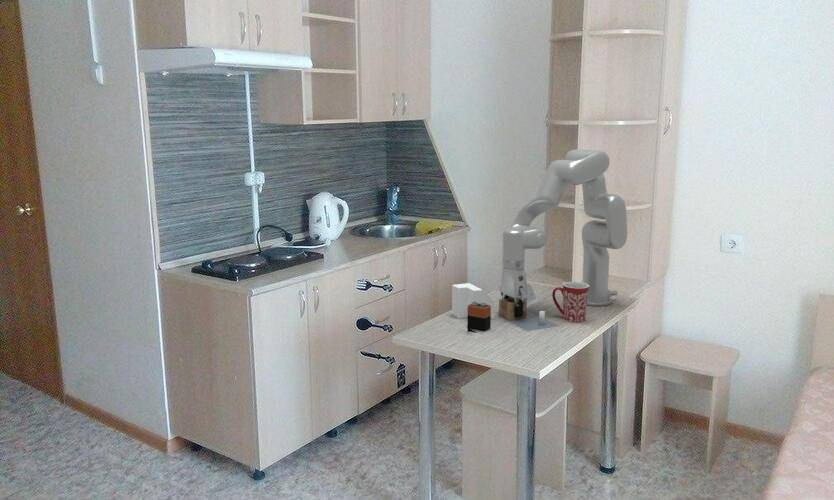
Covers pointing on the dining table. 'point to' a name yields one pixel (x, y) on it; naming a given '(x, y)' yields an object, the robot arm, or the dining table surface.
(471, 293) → the corner bracket
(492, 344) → the dining table surface
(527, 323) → the peg stand
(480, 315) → the battery
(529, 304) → the grey electronic device
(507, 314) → the brown wooden hollow block
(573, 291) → the mug
